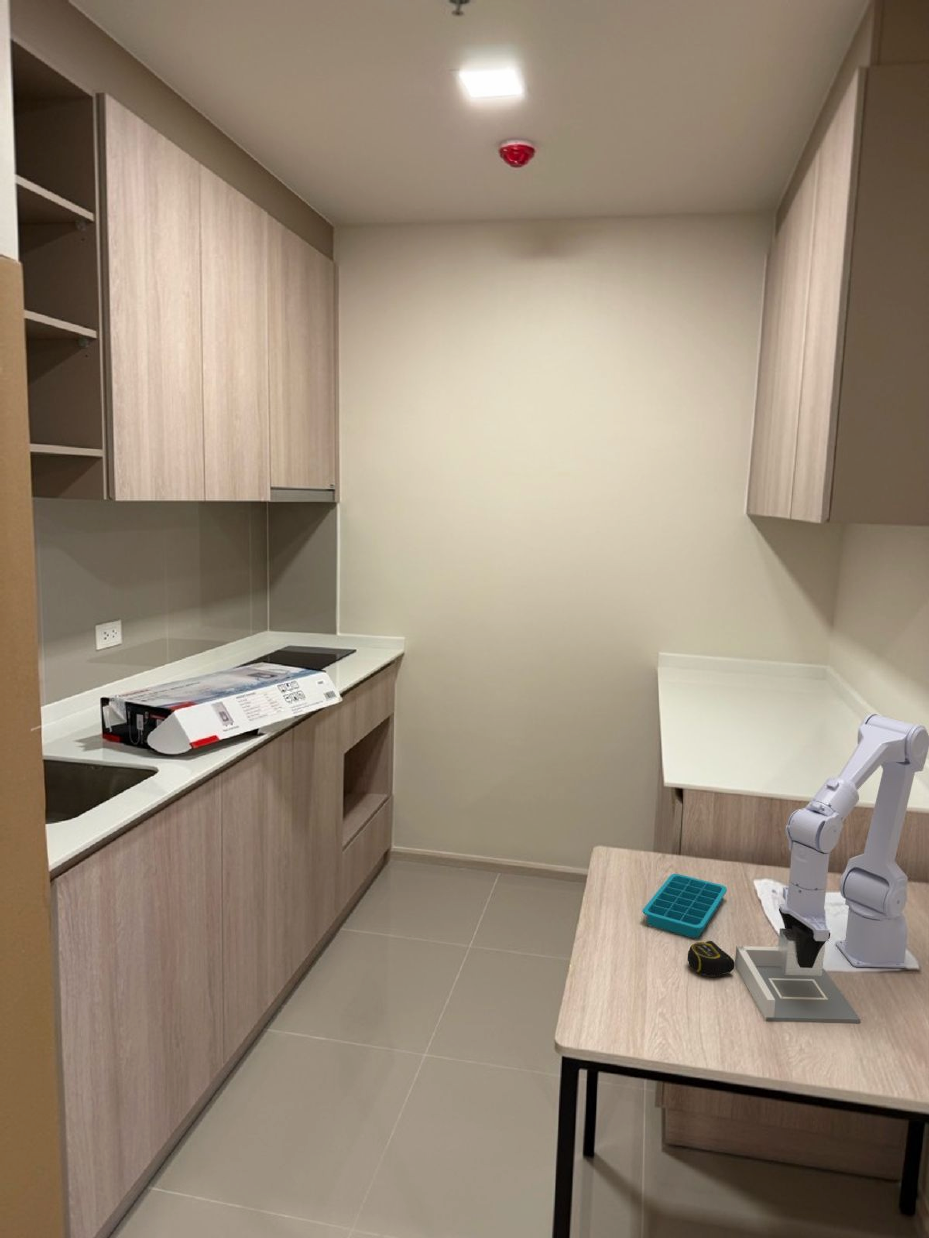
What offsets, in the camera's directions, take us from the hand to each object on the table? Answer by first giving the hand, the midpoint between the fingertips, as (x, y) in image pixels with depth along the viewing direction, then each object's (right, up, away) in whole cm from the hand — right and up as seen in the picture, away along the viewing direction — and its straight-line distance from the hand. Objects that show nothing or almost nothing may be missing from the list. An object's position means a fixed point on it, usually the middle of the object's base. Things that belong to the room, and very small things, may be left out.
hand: (800, 958), depth 145 cm
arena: (-1, -6, +1) cm, 6 cm away
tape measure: (-13, -5, +8) cm, 16 cm away
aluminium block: (0, -2, 0) cm, 2 cm away
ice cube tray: (-12, -2, +28) cm, 30 cm away
